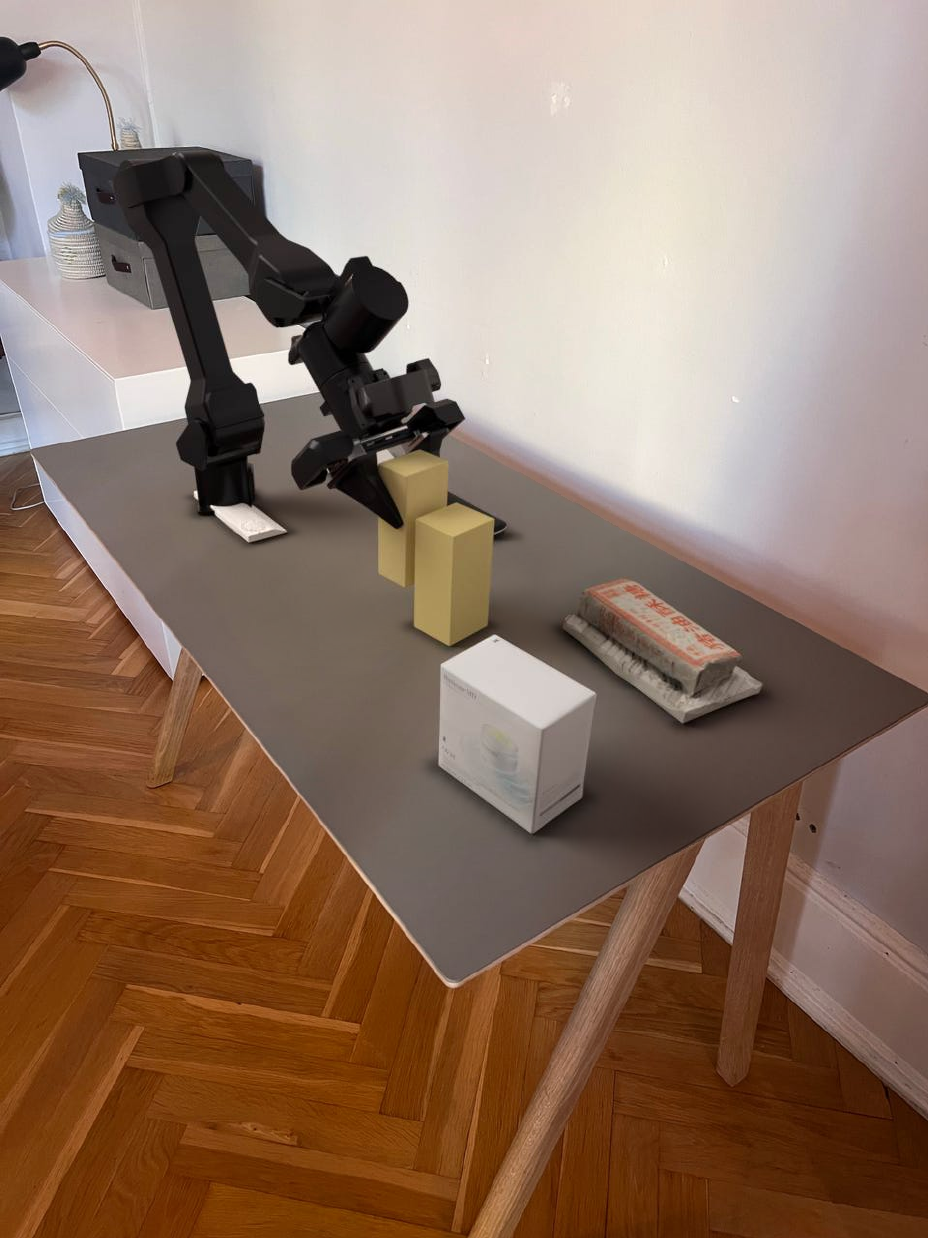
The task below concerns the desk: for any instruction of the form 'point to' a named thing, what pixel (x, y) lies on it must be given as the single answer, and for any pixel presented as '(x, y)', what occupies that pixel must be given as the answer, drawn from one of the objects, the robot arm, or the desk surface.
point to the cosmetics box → (514, 731)
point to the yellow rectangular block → (409, 509)
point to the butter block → (452, 572)
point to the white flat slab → (247, 521)
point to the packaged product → (659, 650)
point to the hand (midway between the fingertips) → (422, 518)
